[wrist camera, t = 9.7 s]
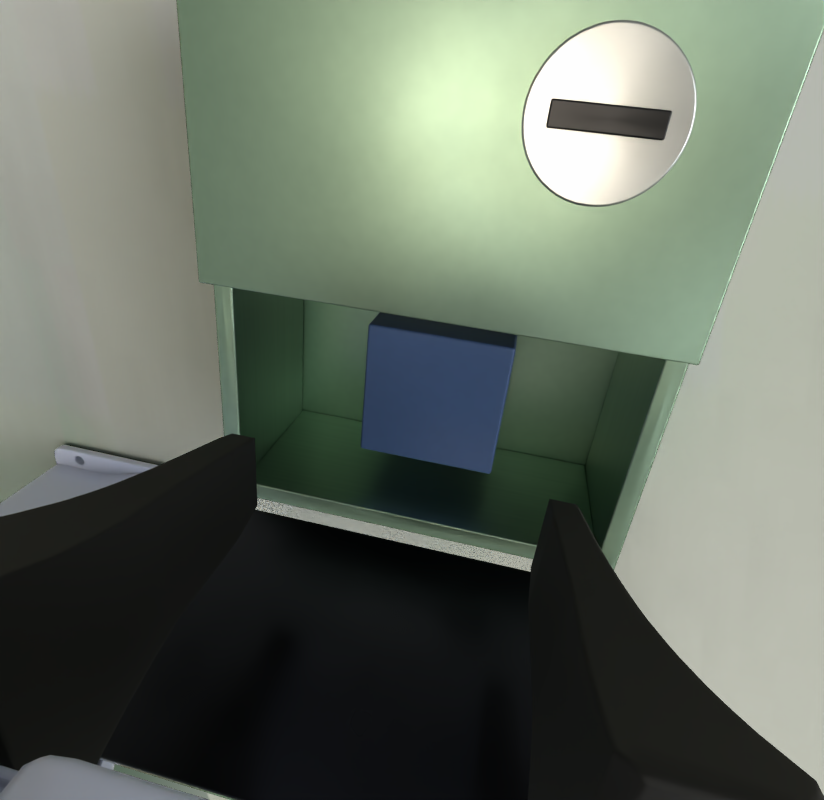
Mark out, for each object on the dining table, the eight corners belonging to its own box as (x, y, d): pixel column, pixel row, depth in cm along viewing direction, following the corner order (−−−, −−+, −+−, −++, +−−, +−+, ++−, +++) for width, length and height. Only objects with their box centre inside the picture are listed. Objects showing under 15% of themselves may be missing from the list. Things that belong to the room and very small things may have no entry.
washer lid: (614, 590, 17) (610, 596, 17) (216, 500, 18) (219, 507, 19) (624, 919, 11) (618, 919, 12) (71, 748, 13) (77, 752, 14)
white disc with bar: (246, 156, 14) (210, 159, 12) (240, -2, 12) (198, -20, 11) (654, 208, 12) (670, 219, 11) (703, 38, 11) (729, 24, 9)
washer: (595, 472, 23) (615, 596, 17) (295, 412, 25) (214, 505, 18) (729, 37, 16) (847, -22, 10) (296, 0, 18) (167, -69, 12)
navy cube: (387, 399, 23) (359, 448, 19) (397, 290, 20) (367, 323, 17) (498, 420, 22) (490, 475, 18) (520, 310, 20) (516, 349, 16)
